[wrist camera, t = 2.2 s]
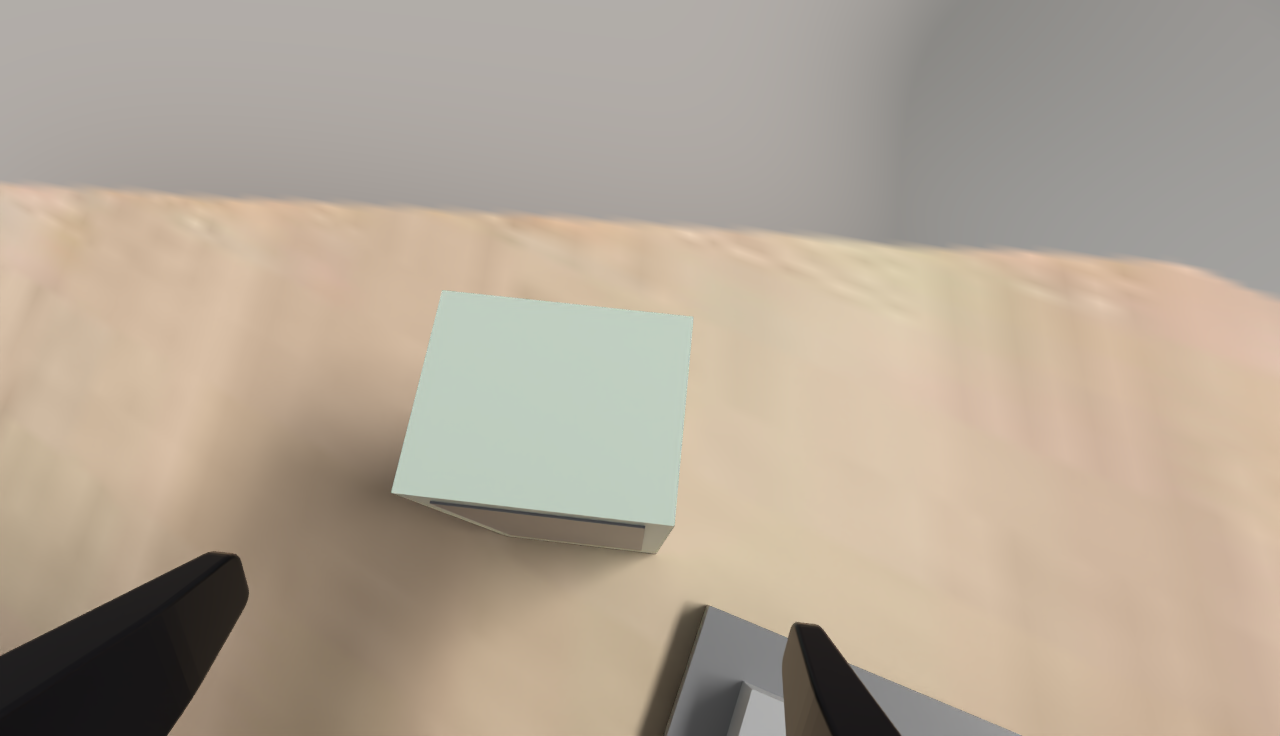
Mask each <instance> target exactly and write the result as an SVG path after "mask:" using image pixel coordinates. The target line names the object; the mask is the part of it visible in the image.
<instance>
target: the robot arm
mask: <svg viewBox="0 0 1280 736" xmlns="http://www.w3.org/2000/svg"><path fill="white" fill-rule="evenodd" d="M248 596H249V589H248V585H247V581H246V577H245V574H244V570H243V566H242V563H241V560H240V558H239V557H238V556H237V555H236V554H233V553H225V552H216V551H213V552H208V553H206V554H203V555H201V556H199V557H197V558H195V559H193V560H191V561H189V562H187V563H185V564H183V565H181V566H179V567H177V568H175V569H173V570H171V571H169V572H167V573H165V574H163V575H161V576H159V577H157V578H155V579H153V580H151V581H149V582H147V583H145V584H143V585H141V586H139V587H137V588H135V589H133V590H131V591H129V592H127V593H125V594H123V595H121V596H119V597H117V598H115V599H113V600H111V601H109V602H107V603H105V604H103V605H101V606H99V607H97V608H95V609H93V610H91V611H89V612H87V613H85V614H83V615H81V616H79V617H77V618H75V619H73V620H71V621H69V622H67V623H65V624H63V625H61V626H59V627H57V628H55V629H53V630H51V631H49V632H47V633H45V634H43V635H41V636H39V637H37V638H35V639H33V640H31V641H29V642H27V643H25V644H23V645H21V646H19V647H17V648H15V649H13V650H11V651H9V652H7V653H5V654H3V655H1V656H0V736H167V735H168V733H169V732H170V731H171V729H172V728H173V726H174V725H175V723H176V722H177V720H178V719H179V718H180V716H181V715H182V713H183V712H184V710H185V709H186V707H187V706H188V704H189V703H190V701H191V700H192V698H193V696H194V695H195V693H196V691H197V690H198V688H199V687H200V685H201V683H202V682H203V680H204V678H205V676H206V675H207V673H208V671H209V669H210V667H211V666H212V664H213V662H214V660H215V659H216V657H217V655H218V653H219V652H220V650H221V648H222V646H223V645H224V643H225V641H226V639H227V638H228V636H229V634H230V632H231V631H232V629H233V627H234V625H235V624H236V622H237V620H238V618H239V617H240V615H241V613H242V611H243V610H244V608H245V606H246V603H247V601H248ZM782 682H783V697H784V713H785V728H786V736H902V735H901V734H900V732H899V731H898V730H897V728H896V727H895V726H894V724H893V723H892V722H891V720H890V719H889V718H888V716H887V715H886V714H885V712H884V711H883V710H882V708H881V707H880V705H879V704H878V703H877V701H876V700H875V699H874V697H873V696H872V695H871V693H870V692H869V691H868V689H867V688H866V687H865V685H864V684H863V683H862V681H861V680H860V678H859V677H858V676H857V674H856V673H855V672H854V670H853V669H852V668H851V666H850V665H849V664H848V662H847V661H846V660H845V658H844V657H843V656H842V654H841V653H840V651H839V650H838V649H837V647H836V646H835V645H834V643H833V642H832V641H831V639H830V638H829V637H828V635H827V634H826V633H825V631H824V630H823V629H822V628H821V627H820V626H819V625H816V624H809V623H801V622H795V623H794V624H793V625H792V627H791V629H790V633H789V636H788V640H787V644H786V648H785V651H784V655H783V660H782Z"/></svg>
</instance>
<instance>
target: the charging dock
mask: <svg viewBox="0 0 1280 736" xmlns="http://www.w3.org/2000/svg"><path fill="white" fill-rule="evenodd" d="M787 640H788V638H786V637H784V636H782V635H779V634H777V633H774V632H772V631H770V630H767V629H765V628H762V627H760V626H758V625H755V624H753V623H750V622H748V621H746V620H743V619H741V618H738V617H736V616H734V615H731V614H729V613H726V612H724V611H722V610H719V609H717V608H714V607H712V606H709V605H707V606H706V609H705V612H704V615H703V618H702V621H701V624H700V627H699V630H698V633H697V636H696V639H695V642H694V645H693V648H692V651H691V654H690V657H689V660H688V663H687V666H686V669H685V672H684V675H683V678H682V681H681V684H680V687H679V690H678V693H677V697H676V700H675V703H674V706H673V709H672V712H671V715H670V718H669V721H668V724H667V727H666V730H665V733H664V736H786V728H785V713H784V697H783V682H782V660H783V655H784V651H785V648H786V644H787ZM848 664H849V663H848ZM849 665H850V666H851V668H852V669H853V670H854V672H855V673H856V674H857V676H858V677H859V678H860V680H861V681H862V683H863V684H864V685H865V687H866V688H867V689H868V691H869V692H870V693H871V695H872V696H873V697H874V699H875V700H876V701H877V703H878V704H879V705H880V707H881V708H882V710H883V711H884V712H885V714H886V715H887V716H888V718H889V719H890V720H891V722H892V723H893V724H894V726H895V727H896V728H897V730H898V731H899V732H900V734H901V735H902V736H1022V735H1019V734H1017V733H1014V732H1012V731H1010V730H1007V729H1005V728H1002V727H1000V726H998V725H995V724H993V723H990V722H988V721H986V720H983V719H981V718H978V717H976V716H974V715H971V714H969V713H966V712H964V711H962V710H959V709H957V708H954V707H952V706H950V705H947V704H945V703H942V702H940V701H938V700H935V699H933V698H930V697H928V696H926V695H923V694H921V693H918V692H916V691H914V690H911V689H909V688H906V687H904V686H902V685H899V684H897V683H894V682H892V681H890V680H887V679H885V678H882V677H880V676H878V675H875V674H873V673H870V672H868V671H866V670H863V669H861V668H858V667H856V666H854V665H851V664H849Z"/></svg>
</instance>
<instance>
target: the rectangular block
mask: <svg viewBox="0 0 1280 736" xmlns="http://www.w3.org/2000/svg"><path fill="white" fill-rule="evenodd" d="M692 328H693V317H691V316H682V315H672V314H663V313H653V312H644V311H634V310H625V309H615V308H606V307H597V306H587V305H578V304H568V303H559V302H549V301H540V300H530V299H521V298H511V297H502V296H492V295H483V294H474V293H464V292H455V291H445V290H442V293H441V297H440V301H439V305H438V309H437V313H436V317H435V321H434V325H433V329H432V333H431V337H430V341H429V345H428V349H427V353H426V356H425V360H424V364H423V368H422V372H421V376H420V380H419V384H418V388H417V392H416V396H415V400H414V404H413V408H412V412H411V416H410V420H409V424H408V428H407V432H406V436H405V439H404V443H403V447H402V451H401V455H400V459H399V463H398V467H397V471H396V475H395V479H394V483H393V487H392V491H391V493H393V494H395V495H398V496H401V497H403V498H406V499H409V500H411V501H414V502H417V503H419V504H422V505H425V506H427V507H430V508H433V509H435V510H438V511H441V512H443V513H446V514H449V515H451V516H454V517H457V518H460V519H462V520H465V521H468V522H470V523H473V524H476V525H478V526H481V527H484V528H486V529H489V530H492V531H494V532H497V533H500V534H502V535H505V536H509V537H518V538H526V539H534V540H543V541H551V542H560V543H568V544H577V545H585V546H593V547H602V548H610V549H619V550H627V551H635V552H644V553H652V554H656V553H657V552H658V550H659V549H660V547H661V546H662V544H663V543H664V541H665V540H666V538H667V537H668V535H669V534H670V532H671V531H672V529H673V528H674V526H675V515H676V504H677V493H678V482H679V471H680V460H681V449H682V438H683V427H684V416H685V405H686V394H687V383H688V372H689V361H690V350H691V339H692Z"/></svg>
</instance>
